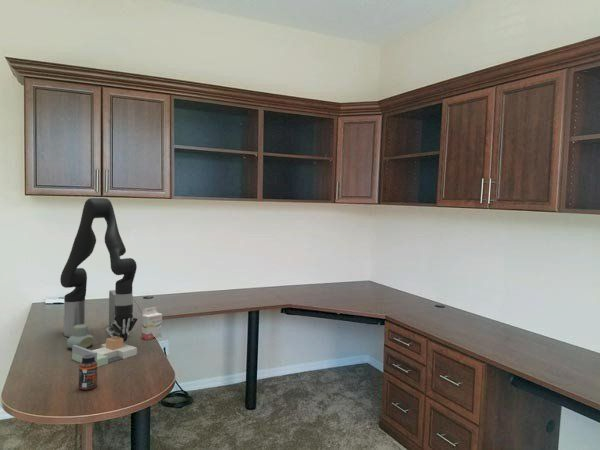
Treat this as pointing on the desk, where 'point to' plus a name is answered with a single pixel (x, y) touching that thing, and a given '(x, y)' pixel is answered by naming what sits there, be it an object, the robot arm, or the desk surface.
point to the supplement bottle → (88, 373)
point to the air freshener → (80, 337)
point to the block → (114, 343)
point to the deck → (104, 353)
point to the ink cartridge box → (151, 324)
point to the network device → (112, 312)
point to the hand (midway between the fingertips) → (123, 341)
